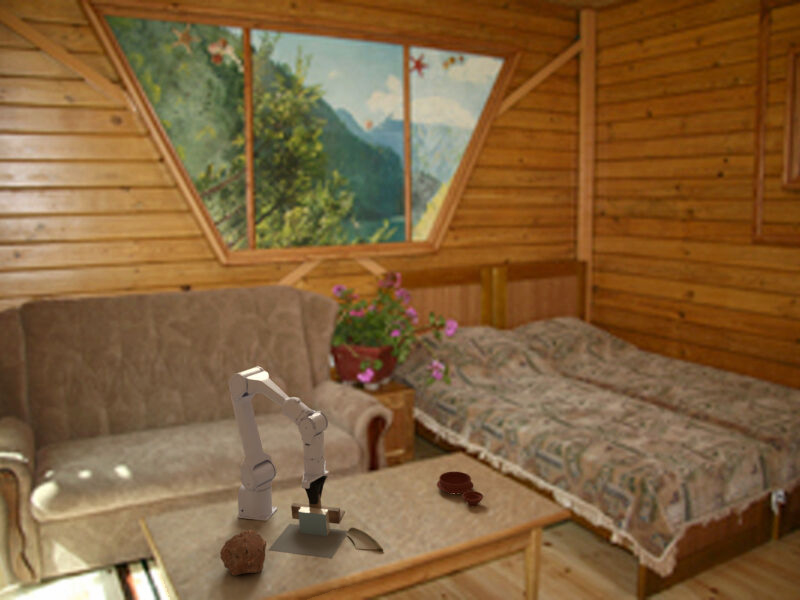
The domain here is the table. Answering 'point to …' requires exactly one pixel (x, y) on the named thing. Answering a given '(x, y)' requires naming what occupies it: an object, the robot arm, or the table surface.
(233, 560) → the decorative rock
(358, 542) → the ceramic fragment
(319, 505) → the walnut scraper
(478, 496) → the pottery
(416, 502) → the table surface
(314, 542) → the charcoal mat
